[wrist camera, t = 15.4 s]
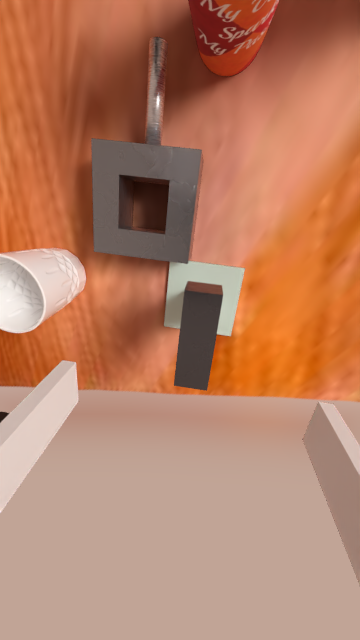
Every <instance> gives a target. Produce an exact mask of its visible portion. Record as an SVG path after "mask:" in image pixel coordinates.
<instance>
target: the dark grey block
mask: <svg viewBox="0 0 360 640" xmlns="http://www.w3.org/2000/svg"><path fill="white" fill-rule="evenodd" d="M222 300H223V289H222V285H217V284H209V283H201V282H193V281H187V284H186V287H185V290H184V298H183V307H182V317H181V326H180V335H179V344H178V353H177V362H176V371H175V381H174V386H180V387H187V388H194V389H200V390H207V387H208V381H209V375H210V370H211V364H212V358H213V352H214V346H215V341H216V335H217V329H218V323H219V317H220V312H221V306H222Z"/></svg>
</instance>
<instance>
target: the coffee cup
mask: <svg viewBox="0 0 360 640" xmlns="http://www.w3.org/2000/svg"><path fill="white" fill-rule="evenodd" d="M188 1H189V6H190V11H191V17H192V22H193V27H194V33H195V37H196V42H197V46H198V50H199V53H200V56H201V58H202V60H203V62H204V64H205V65H206V66H207V68H208V69H209V70H211V71H212V72H213V73H215V74H217V75H220V76H232V75H235V74H238V73H240V72H241V71H243V70H244V69H245V68H247V67H248V66H249V65H250V63H251V62H252V61H253V59H254V58H255V56H256V55H257V53H258V51H259V49H260V47H261V45H262V42H263V40H264V38H265V35H266V33H267V30H268V28H269V25H270V23H271V20H272V18H273V15H274V13H275V10H276V8H277V5H278V3H279V0H188Z"/></svg>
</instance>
